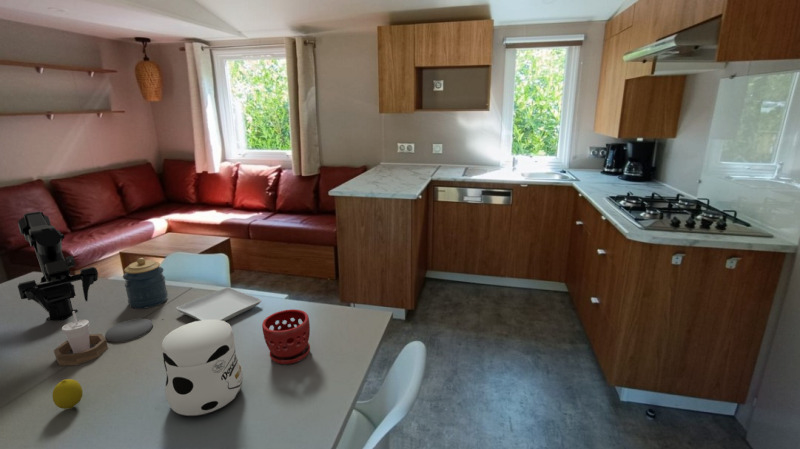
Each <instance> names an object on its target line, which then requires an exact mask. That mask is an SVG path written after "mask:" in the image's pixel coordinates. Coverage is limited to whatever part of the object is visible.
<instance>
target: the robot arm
mask: <svg viewBox="0 0 800 449" xmlns="http://www.w3.org/2000/svg"><path fill="white" fill-rule="evenodd" d="M17 224H18V228H19V232H20V235H21V236H22V235H23V236H24V240H25V241H26V242H28V243H29V246H30V247H33V248H34V251H35V254H36V258H37V260H38V263H39V267H40V270H41V273H42V277H41V278H40V283H36V280H35V279H33V280H27V281H24V282H20V283H19V284H18V285H17V289H18V294H19V296H20V299H21V300H25V299H26V300H28V301H34V302H35V303H37V304H38V305H39V306H41V308H42V309H43V310H45V311H46V312H47V313H48V315H49V316H48V317H46V318H45V319H46V321H59V320H60V321H61V320H67V319H68V318H70V317H71V316H73V311H75V313H77V312H78V309H74V308H73V305H72V301H71V299H74V298H75V297H76V295H77V294H76V290H75V285H74V284H72V283H74V282H76V281H77V282H79V281H81V285H82V293H83V296H84V300H85V302H88V301H89V300H88V299H89V290H90V286H91V285H94V283H95V282H97V281H98V279H99V278H98V277H99V272H98V269H97V268H96V267H94V266H90V267H86V268H81V269H80V270H79V271H80V272H79V273H78V274H77V273H76V274H73V275H71V269H70V268H74V267H76V261H75V259H74V256H73V255H71V256H66V257H64V254H63V245H62V242H63V240H64V239H65V235H64V234H63V233H62V232H61V231H60V230H59V229H57V228H56V227H55V226H54V225H52V223H51V220H50V217H49V216H48V215H45V214H44V212H43V211H33V212H26V213H24V214H23V217H21V218H20V219H19V220H17Z"/></svg>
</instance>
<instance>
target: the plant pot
mask: <svg viewBox="0 0 800 449" xmlns="http://www.w3.org/2000/svg"><path fill="white" fill-rule="evenodd" d="M309 318H310V317H309V315H308V313H307V312H306V311H304V310H301V309H294V308H293V309H284V310H281V311H276V312H274V313H272V314H270V315H269V316H267V317H266V318H265V319H264V320H263V322H262V324H261V325H262V326H261V327H262V334H263V338H264V339H263V340H264V341H265V344H266V346H267V348H268V350H269V357H270V359H271V360H272V361H273V362H274V363H276V364H280V365H288V364H290V365H291V364H294V363H295V364H296V363H297V362H299V361H302V360H303V359H304V358H306V356H308V354H309V352H310V350H311V344H310V343H309V339H310V334H311V333H310V332H311V330H310V328H311V326H310V319H309ZM292 319H294V320H292ZM299 320H301V322H302V323H301V324H300V323H299ZM277 321H278V323H276V322H277ZM284 321H286V322H285V323H283V322H284ZM289 325H290V326H289ZM295 325H296V327H295ZM271 326H272V327H273V329H270V328H271ZM279 327H280V328H279Z"/></svg>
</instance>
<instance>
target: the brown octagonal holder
mask: <svg viewBox="0 0 800 449" xmlns="http://www.w3.org/2000/svg"><path fill="white" fill-rule="evenodd" d="M89 340H90V346H92V345H94V346H93V347H90V349H88V350H85V351H82V352H80V353H77V354H74V353H70V352H71V351H72V349H71V346H70V344H69V342H68V340H67V339H66V340H65V341H64V342H62V343H61V344H60V345H59V346H57V347H55V349H53V353H54V356H55V360H56V361H57V363H58V364H59V367H61V366H63V367H64V366H79V365H80V364H83V363H86V362H88V361H91V360H94V359H97V358H99V357H100V355H102V354H103V353H104V352H106V350H108V349H109V347H108V344H107V340H106V337H105V335H104V336H103V333H91V334H90V333H89Z"/></svg>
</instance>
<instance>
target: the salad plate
mask: <svg viewBox="0 0 800 449" xmlns="http://www.w3.org/2000/svg"><path fill="white" fill-rule="evenodd" d="M261 302H262V299H261V298H259V297H256V296H253V295H251V294H250V295H249V294H247V293H245V292H242V291H240V290H237V289H234V288H231V287H224V288H222V289H219V290H216V291H214V292H210V293H208V294H206V295H203V296H201V297H198V298H196V299H193V300H191V301H189V302H186V303H184V304H181V305H178V306H176V307H175V310H177V311H178V312H180V313H182V314H183V315H186V316H188V317H191V318H193V319H195V320H196V321H201V320H215V319H216V320H221V321H225V322H226V321H228V320H231V319H233V318H235V317H236V316H238V315H240V314H243V313H244V312H246V311H249V310H251V309H254V308H255V307H257V306H258V305H260V304H261Z"/></svg>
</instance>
